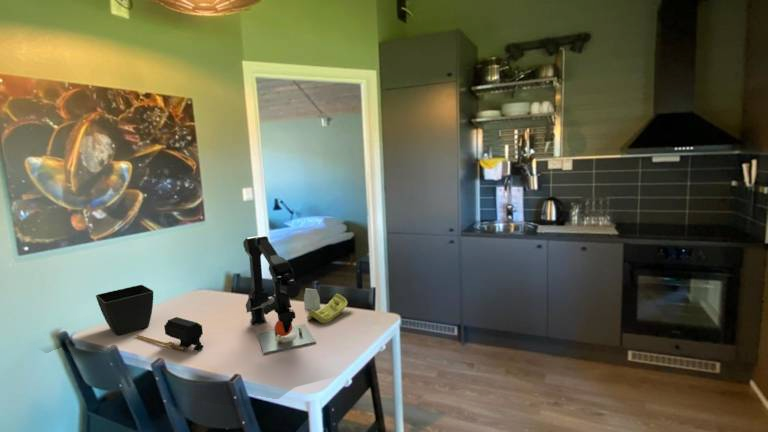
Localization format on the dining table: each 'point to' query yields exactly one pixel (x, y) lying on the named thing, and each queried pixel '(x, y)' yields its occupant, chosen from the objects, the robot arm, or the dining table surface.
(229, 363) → the dining table surface
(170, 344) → the katana
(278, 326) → the clementine
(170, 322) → the security camera
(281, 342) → the brass pins
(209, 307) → the dining table surface
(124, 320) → the flower pot
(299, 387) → the dining table surface
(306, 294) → the tea bag
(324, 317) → the plastic component
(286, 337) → the nest plate
